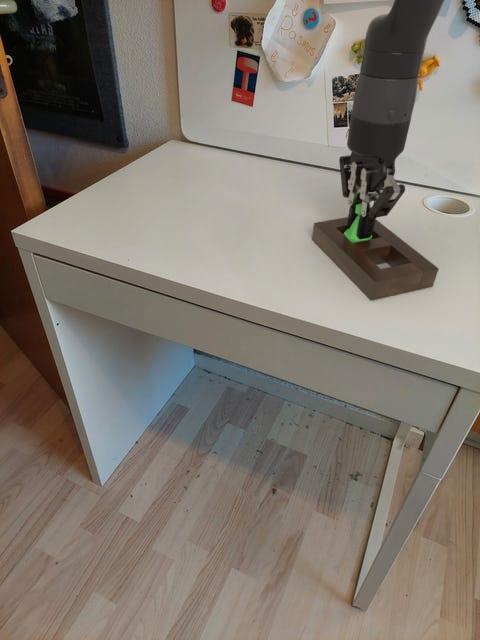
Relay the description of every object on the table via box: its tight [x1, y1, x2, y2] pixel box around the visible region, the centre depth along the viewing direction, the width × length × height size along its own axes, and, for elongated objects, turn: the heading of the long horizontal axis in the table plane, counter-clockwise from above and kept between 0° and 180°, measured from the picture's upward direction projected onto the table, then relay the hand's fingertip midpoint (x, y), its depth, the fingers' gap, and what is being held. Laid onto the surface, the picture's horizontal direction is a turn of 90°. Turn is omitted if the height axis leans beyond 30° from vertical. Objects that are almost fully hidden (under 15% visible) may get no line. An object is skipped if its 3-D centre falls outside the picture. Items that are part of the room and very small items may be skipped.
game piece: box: [344, 203, 372, 243], centre depth 68 cm, size 4×4×6 cm
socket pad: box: [311, 216, 439, 302], centre depth 67 cm, size 10×18×3 cm, turn 20°
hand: (358, 232), depth 69 cm, fingers closed on game piece, 2 cm apart
